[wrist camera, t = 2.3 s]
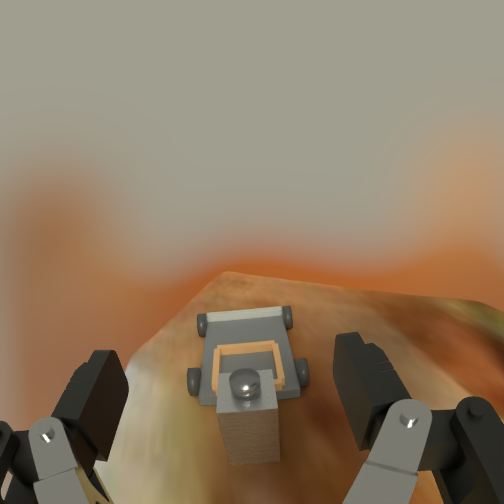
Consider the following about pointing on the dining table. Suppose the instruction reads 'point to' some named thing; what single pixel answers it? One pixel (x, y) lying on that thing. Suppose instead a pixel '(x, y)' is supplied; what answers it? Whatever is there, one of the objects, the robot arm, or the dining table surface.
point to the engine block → (248, 416)
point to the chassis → (247, 351)
